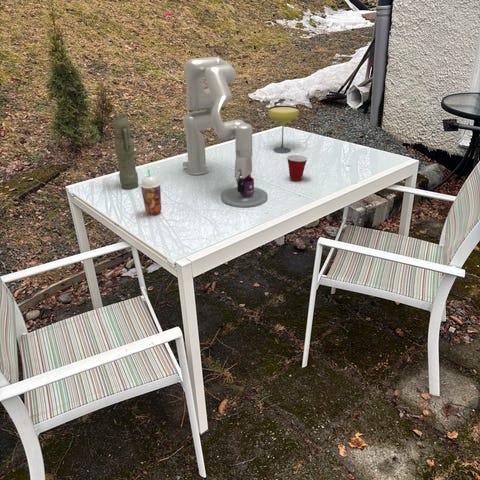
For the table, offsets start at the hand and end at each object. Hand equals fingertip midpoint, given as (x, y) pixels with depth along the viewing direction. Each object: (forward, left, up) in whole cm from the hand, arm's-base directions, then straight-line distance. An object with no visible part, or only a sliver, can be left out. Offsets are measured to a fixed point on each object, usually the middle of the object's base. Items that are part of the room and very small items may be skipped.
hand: (244, 188), depth 206 cm
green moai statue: (-59, -10, -5) cm, 60 cm away
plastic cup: (+15, +32, -5) cm, 36 cm away
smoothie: (-30, -31, -5) cm, 43 cm away
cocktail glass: (-8, +74, -5) cm, 75 cm away
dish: (0, 0, -5) cm, 5 cm away
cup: (0, +1, -2) cm, 2 cm away
